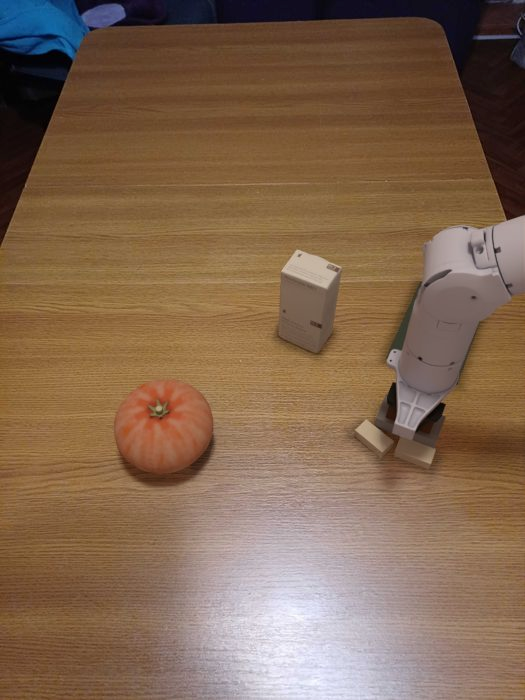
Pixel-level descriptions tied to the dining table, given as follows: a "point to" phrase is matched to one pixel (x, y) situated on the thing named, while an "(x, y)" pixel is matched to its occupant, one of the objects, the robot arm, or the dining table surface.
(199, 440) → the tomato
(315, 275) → the cosmetic box
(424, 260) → the robot arm
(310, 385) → the dining table surface
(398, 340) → the slate
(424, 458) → the chalk
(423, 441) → the eraser
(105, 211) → the dining table surface
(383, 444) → the chalk
